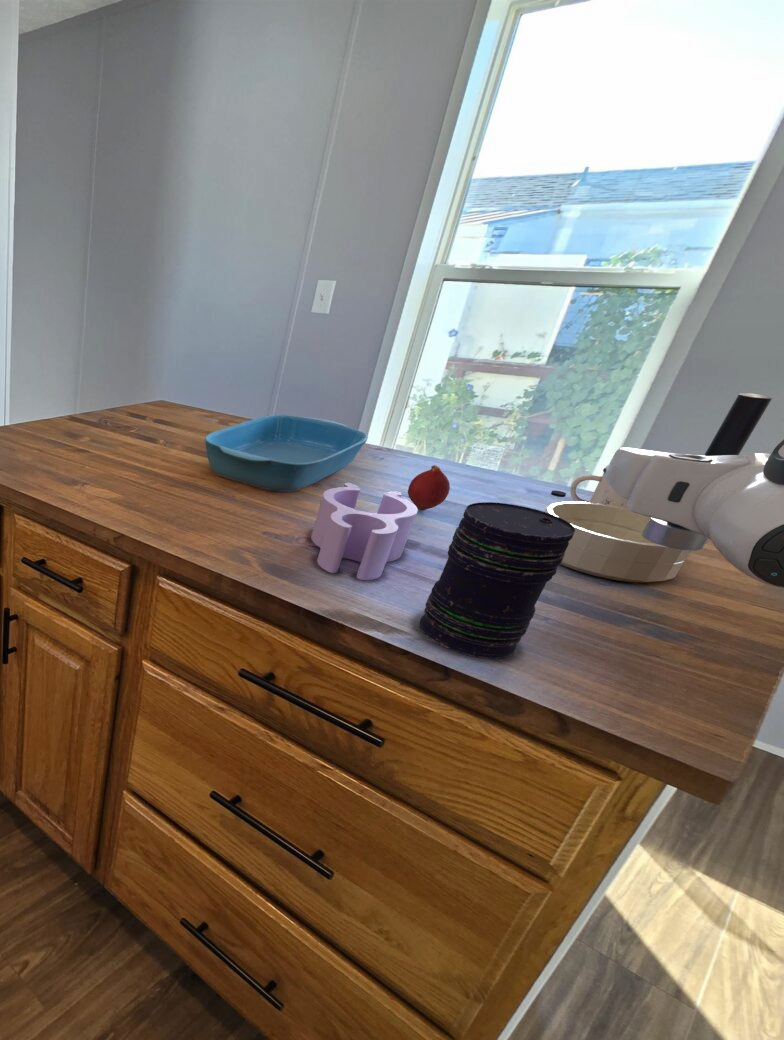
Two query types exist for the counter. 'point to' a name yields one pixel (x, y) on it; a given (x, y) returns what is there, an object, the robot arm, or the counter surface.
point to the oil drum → (494, 578)
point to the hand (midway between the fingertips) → (711, 464)
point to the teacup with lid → (600, 492)
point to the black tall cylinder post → (724, 443)
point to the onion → (429, 488)
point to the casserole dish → (282, 451)
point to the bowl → (615, 544)
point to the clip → (361, 530)
